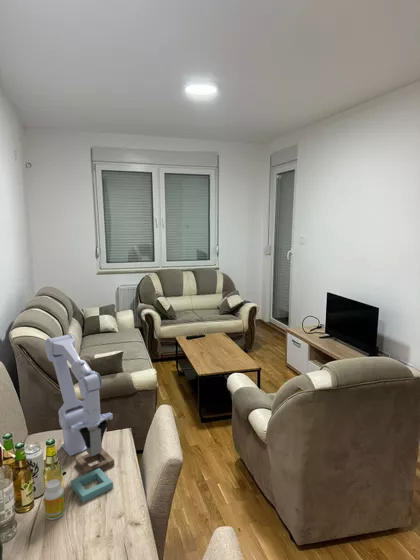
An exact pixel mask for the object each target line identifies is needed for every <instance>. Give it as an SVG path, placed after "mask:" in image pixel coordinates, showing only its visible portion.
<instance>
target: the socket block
mask: <svg viewBox="0 0 420 560" xmlns="http://www.w3.org/2000/svg"><path fill="white" fill-rule="evenodd" d="M97 459H101V461H100V462H97V463H95V464H93V465H90V464H89V463H90V462H92V461H95V460H97ZM75 464H76V466H77V467H78V468H79V469H80V471H81V472H83V475H85V474H87V473H89V472H92V471H94V470H96V469H98V468H100V469H101V470H102V471H104V470H107V469H108V468H111V467H113V466H115V459H114V458H113V457H112V456H111V455H110V454H109V453H108V452H107V451H106V450H105V449H104V448H102V452H101V453H99V454H96V455H94V456H90V455H89V454H88V453H86V454H85V455H82V456H79V457H77V458H75Z"/></svg>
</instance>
